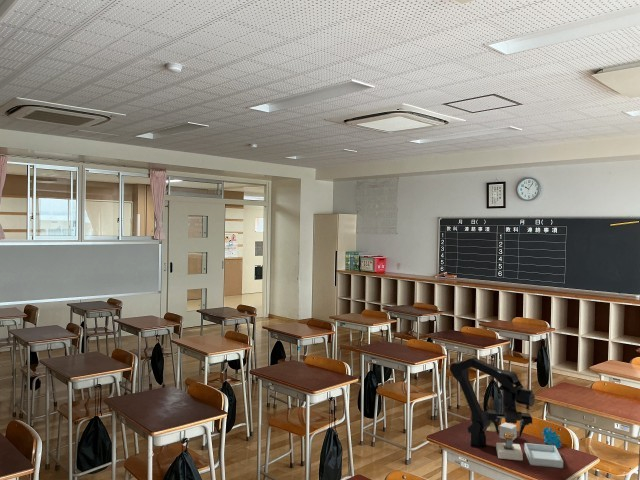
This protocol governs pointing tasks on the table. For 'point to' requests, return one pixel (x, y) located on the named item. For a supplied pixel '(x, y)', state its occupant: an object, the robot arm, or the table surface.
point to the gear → (551, 437)
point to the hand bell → (492, 426)
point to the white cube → (508, 429)
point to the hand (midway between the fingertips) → (508, 435)
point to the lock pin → (509, 441)
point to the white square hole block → (509, 452)
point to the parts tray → (543, 455)
